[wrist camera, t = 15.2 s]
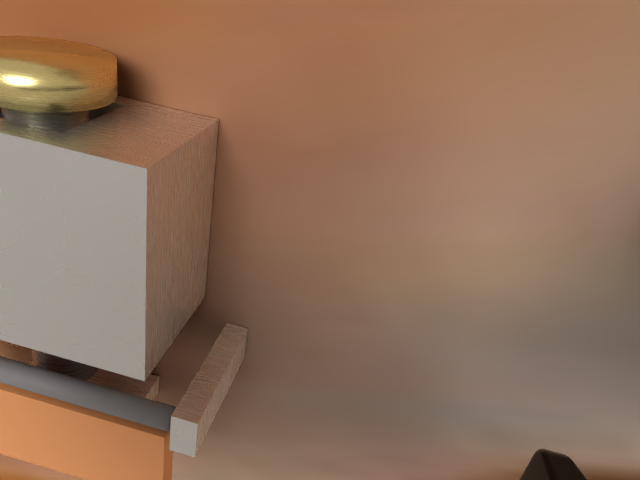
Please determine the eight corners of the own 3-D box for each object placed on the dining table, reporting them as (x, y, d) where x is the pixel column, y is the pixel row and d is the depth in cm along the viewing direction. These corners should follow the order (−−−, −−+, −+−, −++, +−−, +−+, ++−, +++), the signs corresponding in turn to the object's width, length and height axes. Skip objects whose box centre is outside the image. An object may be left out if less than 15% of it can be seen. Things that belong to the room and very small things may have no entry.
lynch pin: (141, 57, 18) (62, 80, 14) (140, 346, 24) (85, 416, 21) (25, 30, 18) (-82, 46, 15) (54, 322, 25) (-16, 386, 21)
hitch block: (273, 132, 19) (217, 189, 14) (236, 413, 26) (190, 516, 21) (-79, 49, 20) (-245, 75, 15) (-24, 338, 27) (-125, 419, 22)
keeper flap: (177, 402, 20) (167, 420, 19) (173, 486, 22) (164, 505, 21) (-103, 321, 21) (-125, 335, 20) (-77, 410, 23) (-95, 425, 22)
